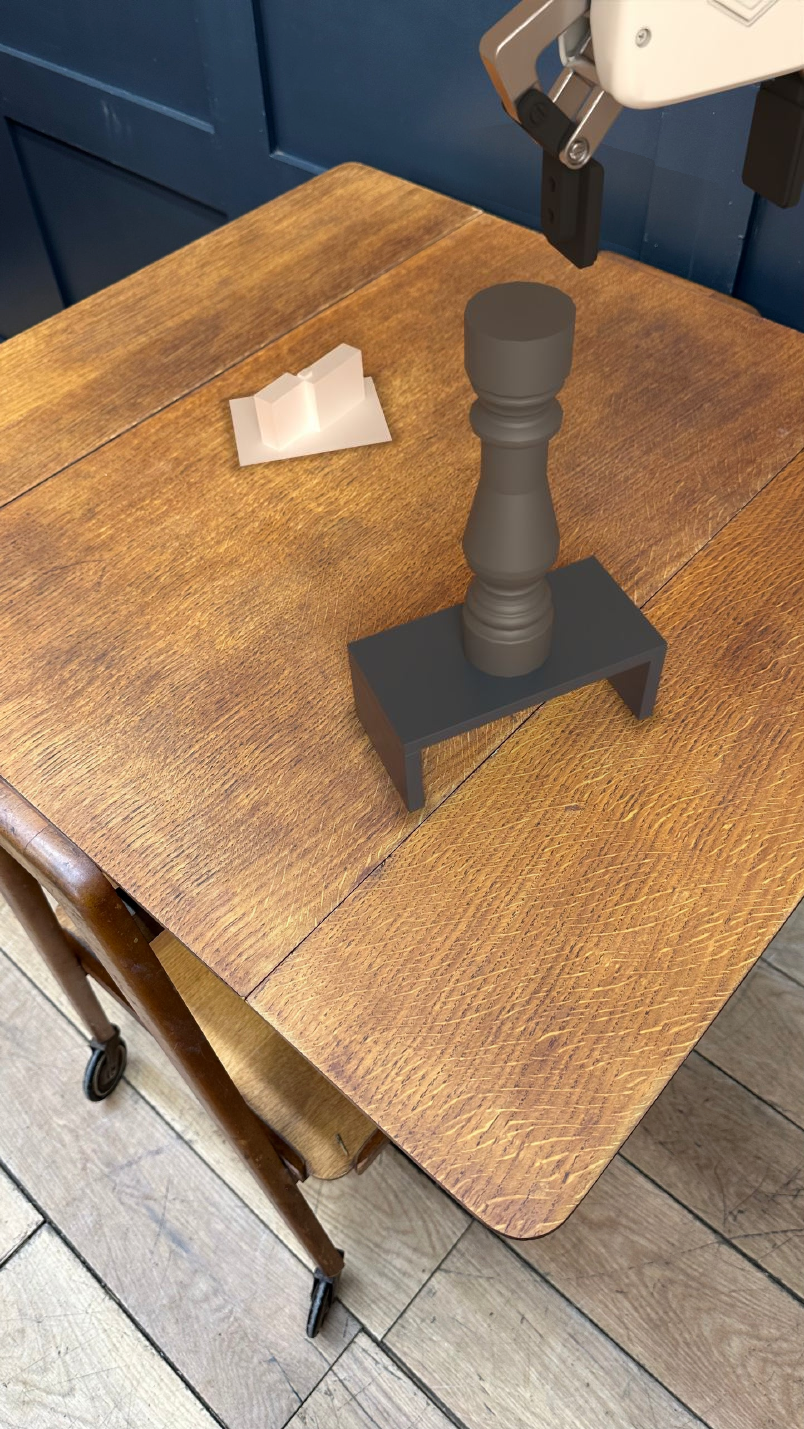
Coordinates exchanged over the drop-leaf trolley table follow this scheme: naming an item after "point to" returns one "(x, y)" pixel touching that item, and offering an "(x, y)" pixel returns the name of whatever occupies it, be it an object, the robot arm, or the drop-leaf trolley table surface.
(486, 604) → the candle holder
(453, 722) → the shelf
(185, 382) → the drop-leaf trolley table surface
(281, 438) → the napkin holder
